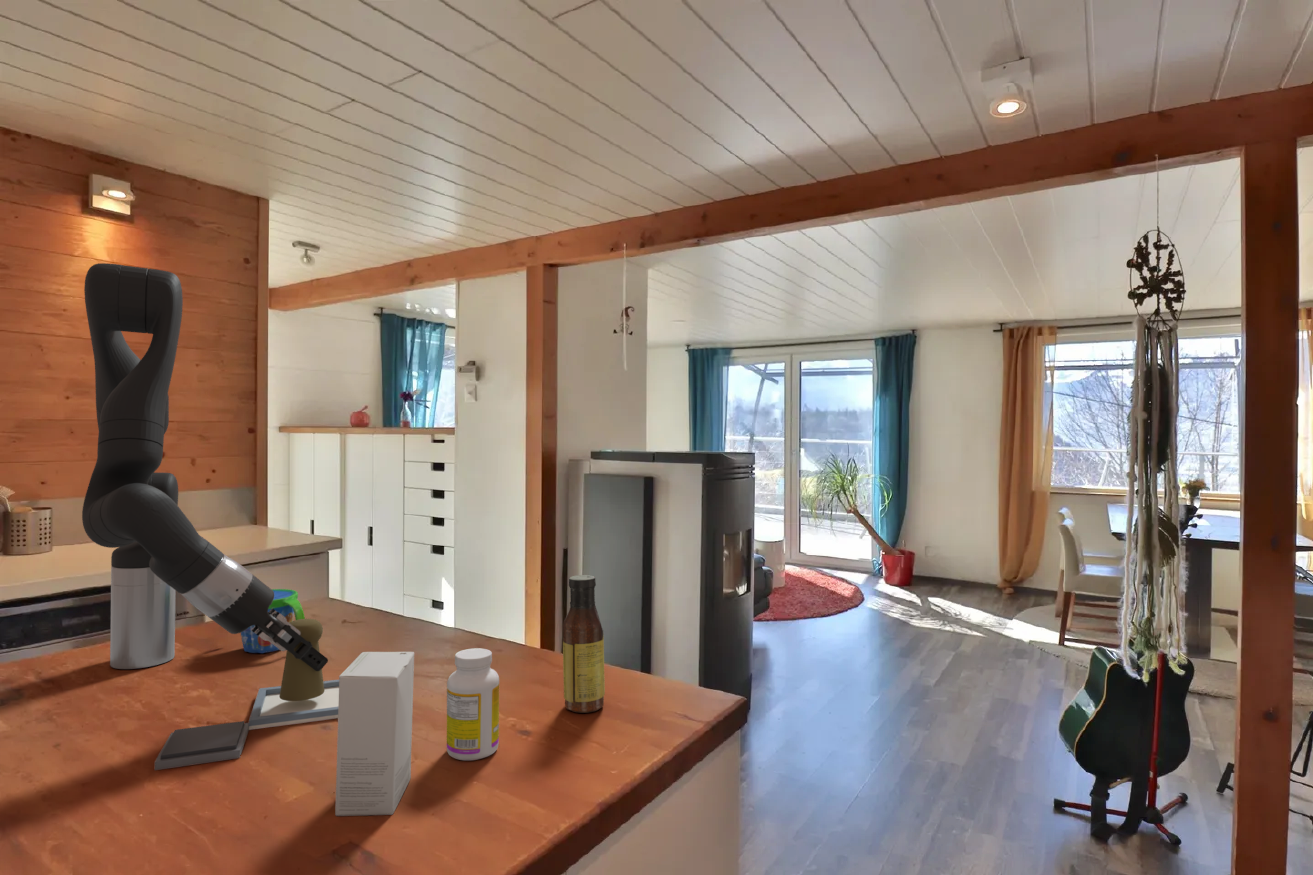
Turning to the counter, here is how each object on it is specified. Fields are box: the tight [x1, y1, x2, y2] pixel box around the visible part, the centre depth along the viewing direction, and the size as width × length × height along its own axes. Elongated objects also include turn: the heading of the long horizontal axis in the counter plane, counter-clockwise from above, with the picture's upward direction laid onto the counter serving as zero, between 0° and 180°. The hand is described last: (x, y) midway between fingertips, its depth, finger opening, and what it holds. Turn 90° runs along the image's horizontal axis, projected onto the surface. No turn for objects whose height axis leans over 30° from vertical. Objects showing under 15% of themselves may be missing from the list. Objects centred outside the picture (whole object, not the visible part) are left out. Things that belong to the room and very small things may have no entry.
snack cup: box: [240, 588, 306, 654], centre depth 134 cm, size 16×10×10 cm
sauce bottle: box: [562, 574, 606, 714], centre depth 108 cm, size 7×6×20 cm
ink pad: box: [154, 720, 250, 771], centre depth 92 cm, size 9×9×2 cm
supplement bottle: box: [446, 647, 500, 762], centre depth 93 cm, size 7×7×13 cm
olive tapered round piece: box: [279, 618, 324, 701], centre depth 106 cm, size 6×6×11 cm
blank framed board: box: [248, 679, 339, 731], centre depth 107 cm, size 13×13×1 cm
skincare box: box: [334, 651, 415, 817], centre depth 81 cm, size 8×7×16 cm
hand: (317, 661), depth 108 cm, fingers closed on olive tapered round piece, 4 cm apart
